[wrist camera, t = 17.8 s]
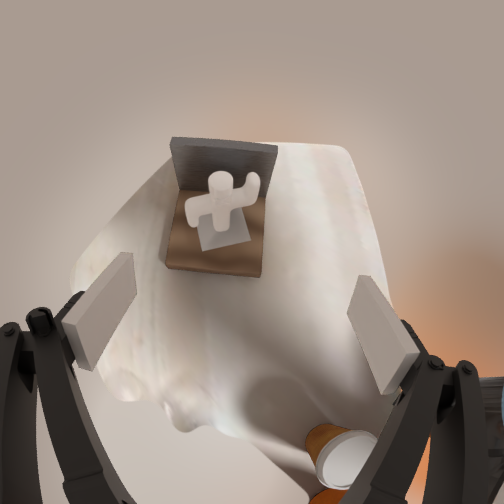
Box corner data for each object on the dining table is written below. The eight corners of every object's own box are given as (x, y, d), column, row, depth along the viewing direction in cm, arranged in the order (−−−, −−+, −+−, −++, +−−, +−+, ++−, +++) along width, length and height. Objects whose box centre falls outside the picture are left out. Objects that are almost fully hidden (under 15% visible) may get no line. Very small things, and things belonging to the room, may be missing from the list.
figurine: (188, 220, 45) (175, 163, 31) (243, 208, 46) (252, 150, 32) (197, 261, 42) (184, 216, 28) (255, 247, 44) (270, 199, 30)
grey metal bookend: (265, 197, 47) (277, 153, 36) (179, 189, 46) (169, 144, 35) (265, 190, 48) (277, 145, 37) (181, 182, 47) (172, 136, 36)
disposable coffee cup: (294, 467, 34) (316, 498, 23) (296, 418, 38) (321, 439, 26) (347, 458, 35) (380, 482, 24) (350, 411, 38) (387, 425, 27)
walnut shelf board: (259, 277, 45) (261, 273, 43) (168, 268, 44) (165, 263, 42) (264, 197, 50) (265, 190, 48) (183, 190, 49) (181, 182, 47)
